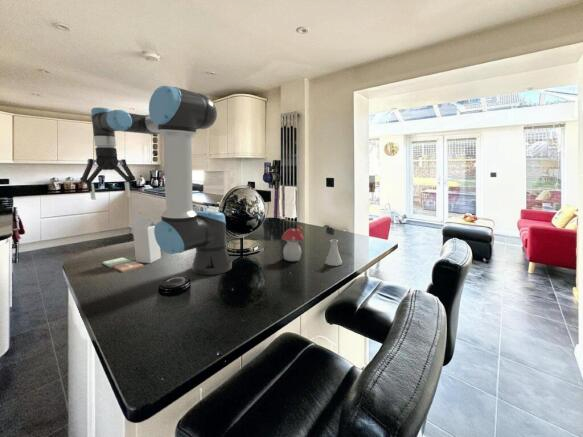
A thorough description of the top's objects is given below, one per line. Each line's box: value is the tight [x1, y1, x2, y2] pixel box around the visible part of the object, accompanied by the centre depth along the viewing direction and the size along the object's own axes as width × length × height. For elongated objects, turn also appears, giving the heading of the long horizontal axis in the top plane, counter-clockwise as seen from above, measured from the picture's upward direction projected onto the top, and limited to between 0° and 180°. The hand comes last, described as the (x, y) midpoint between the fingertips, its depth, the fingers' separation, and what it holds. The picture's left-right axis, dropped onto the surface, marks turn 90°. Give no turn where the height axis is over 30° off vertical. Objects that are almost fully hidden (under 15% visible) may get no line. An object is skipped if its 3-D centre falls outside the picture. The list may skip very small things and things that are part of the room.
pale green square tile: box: [102, 256, 132, 268], centre depth 125 cm, size 8×8×1 cm
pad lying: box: [113, 260, 144, 273], centre depth 120 cm, size 8×8×1 cm
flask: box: [324, 239, 343, 267], centre depth 123 cm, size 7×7×10 cm
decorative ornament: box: [281, 225, 304, 262], centre depth 128 cm, size 9×7×15 cm
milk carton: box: [132, 216, 162, 264], centre depth 127 cm, size 7×7×19 cm
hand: (111, 198), depth 127 cm, fingers open, 13 cm apart
